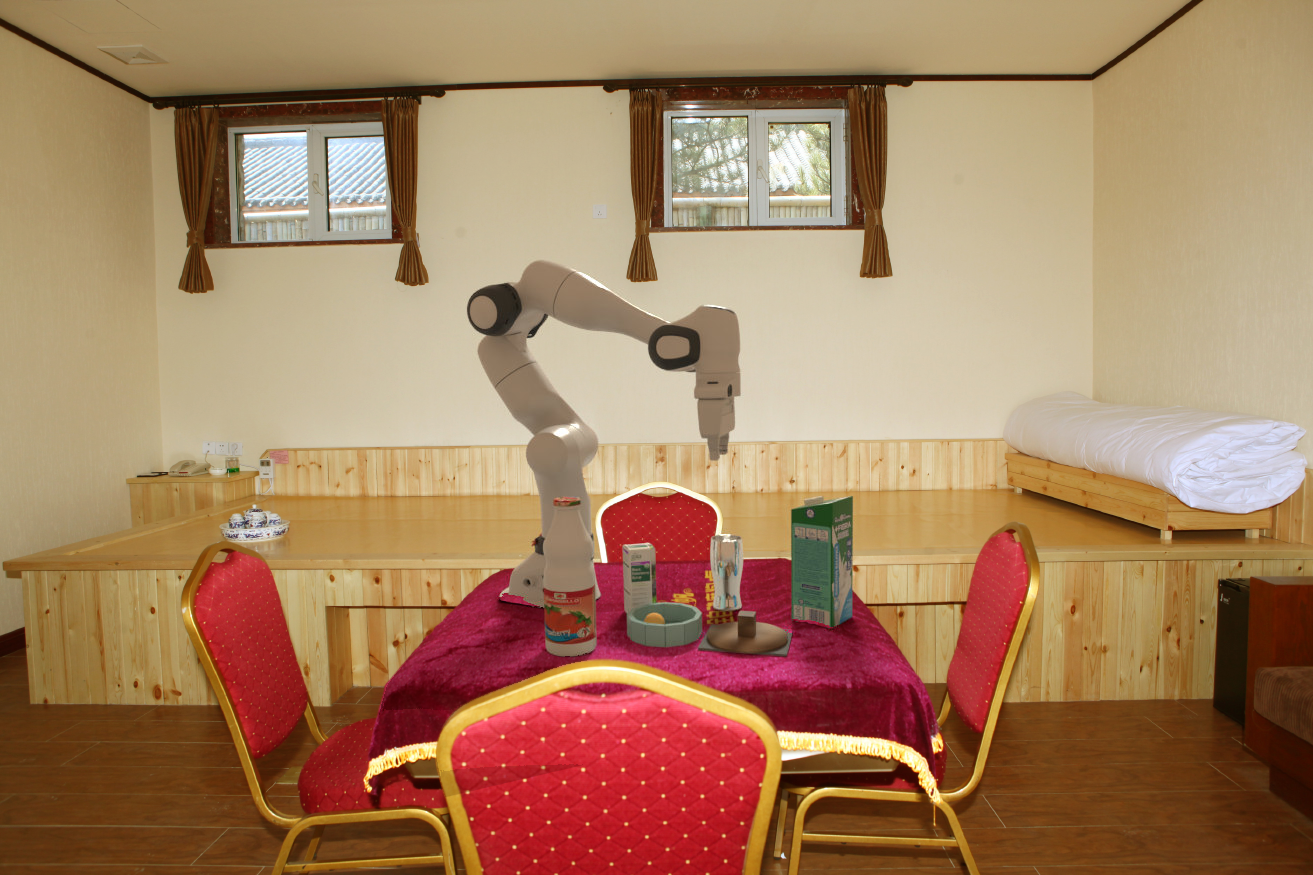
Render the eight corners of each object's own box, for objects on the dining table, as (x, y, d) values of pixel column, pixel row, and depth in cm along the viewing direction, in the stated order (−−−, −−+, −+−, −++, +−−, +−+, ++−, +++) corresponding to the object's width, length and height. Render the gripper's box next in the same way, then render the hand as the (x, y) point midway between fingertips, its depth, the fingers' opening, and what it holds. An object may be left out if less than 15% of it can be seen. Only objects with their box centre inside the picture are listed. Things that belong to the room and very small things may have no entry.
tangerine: (657, 638, 152) (641, 636, 150) (653, 619, 154) (638, 616, 152) (670, 630, 150) (654, 627, 147) (666, 610, 152) (651, 608, 150)
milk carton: (812, 608, 166) (812, 491, 164) (852, 617, 160) (853, 495, 158) (791, 620, 159) (790, 497, 157) (832, 629, 153) (832, 502, 151)
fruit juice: (605, 642, 148) (601, 495, 146) (582, 660, 140) (578, 504, 137) (560, 637, 152) (556, 493, 149) (536, 654, 143) (530, 501, 140)
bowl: (619, 643, 148) (618, 622, 147) (639, 619, 161) (639, 600, 161) (692, 649, 144) (692, 627, 144) (707, 624, 158) (707, 604, 157)
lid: (699, 649, 143) (699, 623, 142) (714, 622, 157) (714, 599, 157) (783, 656, 139) (783, 629, 138) (791, 628, 153) (791, 603, 153)
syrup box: (630, 619, 162) (628, 549, 160) (623, 610, 167) (622, 543, 166) (657, 616, 163) (656, 547, 162) (649, 607, 169) (648, 541, 167)
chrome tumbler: (742, 612, 164) (741, 541, 163) (708, 611, 166) (707, 540, 164) (745, 602, 171) (744, 534, 170) (713, 601, 173) (712, 533, 171)
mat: (698, 649, 144) (698, 647, 144) (711, 626, 156) (711, 624, 156) (786, 656, 140) (786, 654, 140) (793, 631, 152) (793, 629, 152)
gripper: (712, 386, 167) (712, 451, 168) (691, 389, 147) (693, 463, 149) (741, 385, 166) (742, 451, 167) (725, 389, 146) (726, 463, 147)
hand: (718, 457), depth 158 cm, fingers open, 8 cm apart
